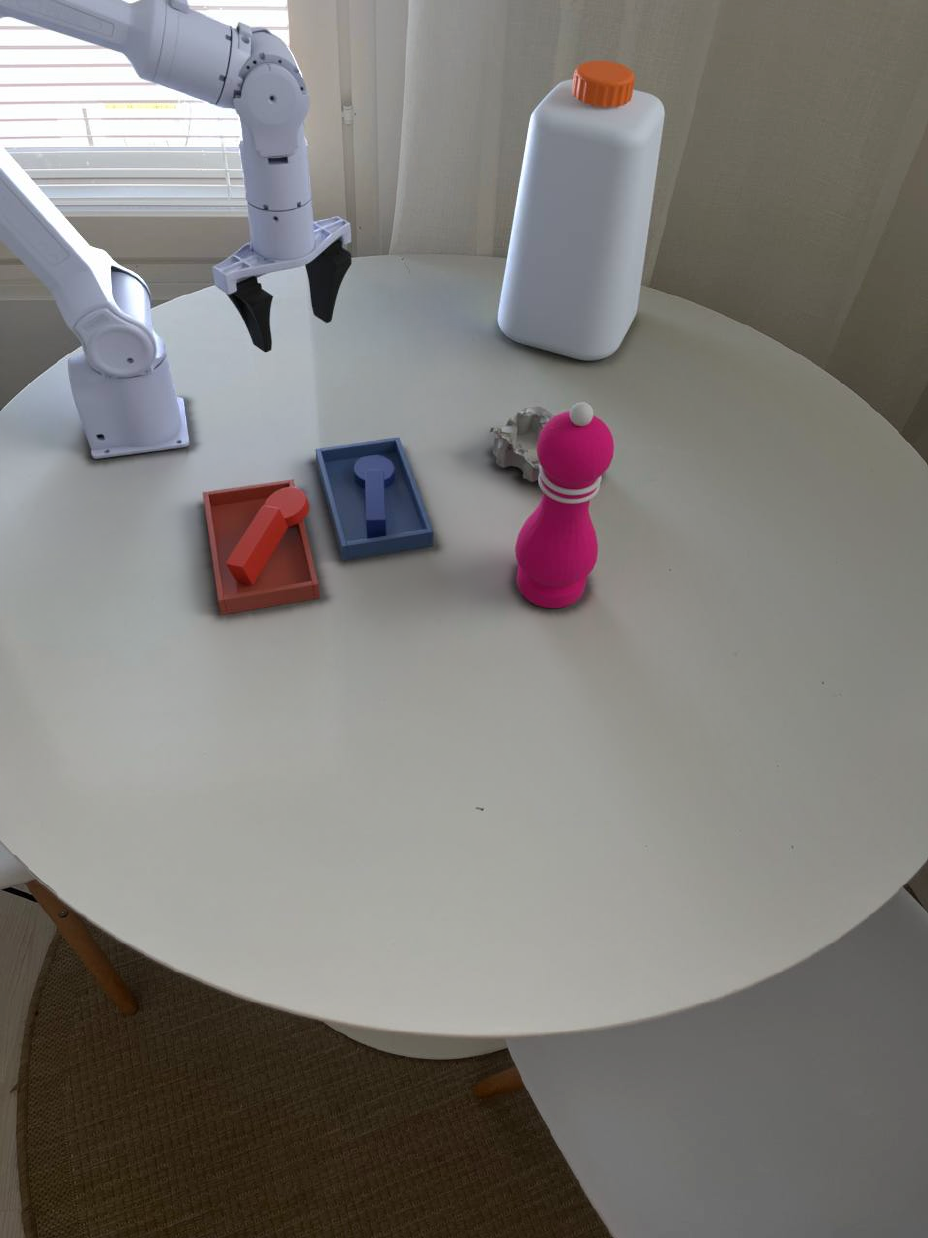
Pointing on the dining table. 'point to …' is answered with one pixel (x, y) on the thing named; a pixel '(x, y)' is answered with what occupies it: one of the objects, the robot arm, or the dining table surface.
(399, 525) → the blue tray
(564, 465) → the pepper mill
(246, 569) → the red spoon
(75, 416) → the dining table surface
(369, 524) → the blue spoon
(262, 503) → the red tray
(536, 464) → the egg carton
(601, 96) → the plastic bottle
